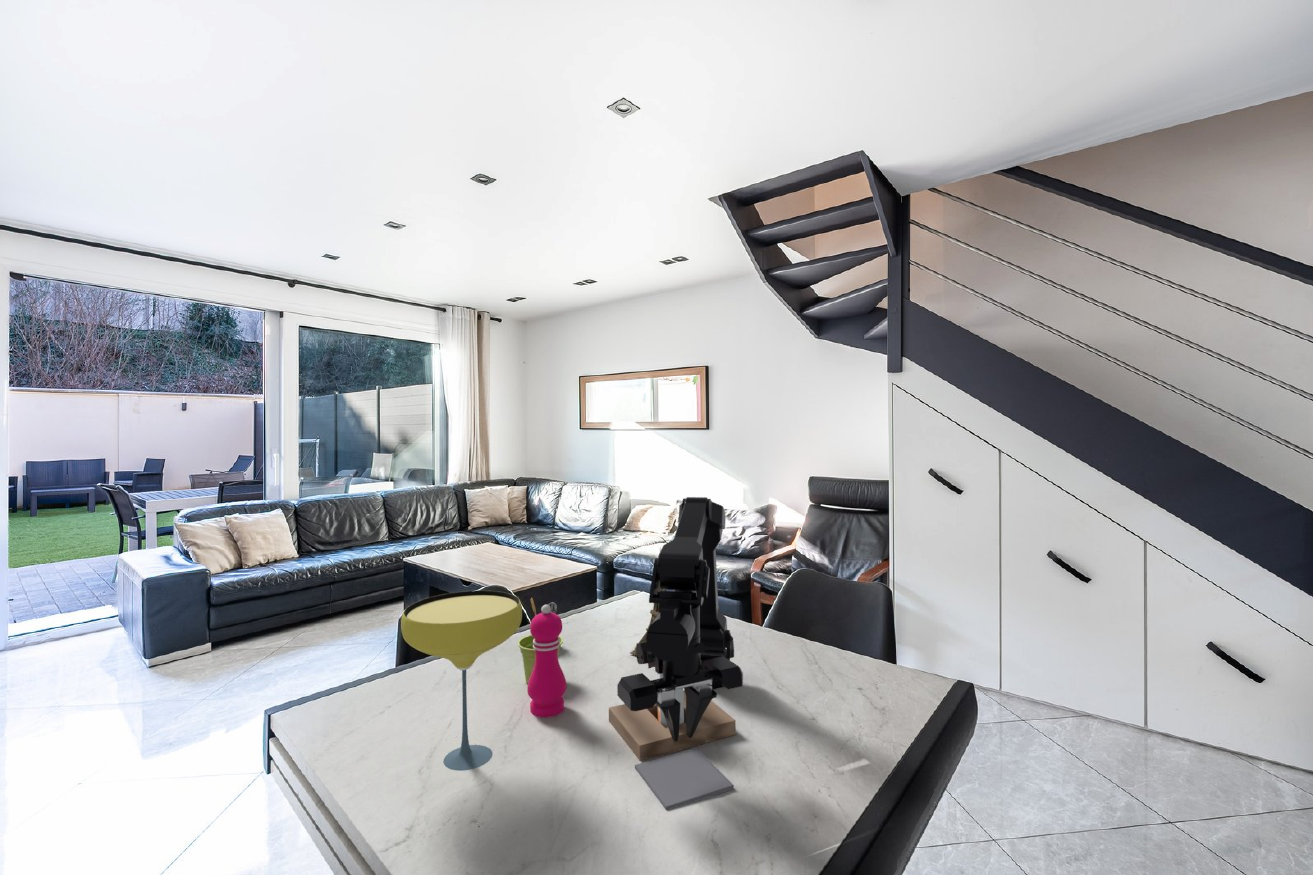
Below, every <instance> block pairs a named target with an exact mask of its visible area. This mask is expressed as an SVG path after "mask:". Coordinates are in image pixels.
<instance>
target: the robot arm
mask: <svg viewBox="0 0 1313 875" xmlns="http://www.w3.org/2000/svg"><path fill="white" fill-rule="evenodd" d="M677 524H678V525H677V527H676V530H675V533H674V537H673V538H672V539H673V540H671V541H669V542H667V543H665V544H664V545H662V548H660V550H659V553H658V556H657V557H656V558H655V559H654V561H653V567H652V568H653V569H652V575H651V583H650V590H649V597H648V603H649V604H654V603H659V613H658V616H657V617H656V618H655V620H654V621H653V623H652V624H651V626H650V627H649V629H648V632H647V631H646V632H647V635H646V640H647V642H642V643H639V642H638V643H636V645H635V647H636V655H635V656H636V661H637V664H638V665H647V669H652V668H654V671H655V673H656V674H657V673H658V674H662V678H660V679H657V678H656V679H651V680H650V678H649V677H647V676H646V675H645V674H644V673H643V672H640V673H636V674H632V675H631V674H630V675H626V676H622V677H621V678H620V680H619V682H618V683H617V697H618V698H619V699H620V700H621V701H622V702H623V704H625V705H626V706H627V707H628V708H629V709H630V710H631V711H640V710H644V709H648V708H652V707H653V706H654V705H655V704H656V705H657V706H658V707H659V708H660V709H661V710H662V712H663V714H664V717H665V720H666V722H667V725H668V728H669V731H670V734H671V737H672V739H673V740H674V741H675V742H677V741H678V737H679V725H680V702H678V701H677V700H676V699H675V690H676V689H681V688H683V691H684V690H685V694H686V734H687V736H688V737H689V738H692V736H693V734H694V732H695V730H696V728H697V726H698V724H699V722H700V719H701V718H702V715H703V714H704V712H705V710H706V708H707V707H708V705H709V703H710V702H711V701H713V699H716V698H717V696H718V693H717V692H716V691H715V690H717V689H721V688H725V689H727V690H732V689H736V688H741V687H743V685H744V672H743V670H742V668H741V667H740V666H739V665H737V664H736V663H735V662H733V661H731V659H732V658H735V644H734V637H733V636H732V633H731V630H730V629H728V622H727V621H728V620H727V617H726V616H725V615H724V614H723V612H722V611H721V609H720V607H719V595H718V590H719V589H718V575H717V574H718V573H717V572H718V571H717V552H716V551H717V547H718V545H719V544H720V542H721V540H722V535H723V532H724V530H726V510H725V508H724V506H723V505H721V504H720V503H719V504H718V503H717V502H715V501H714V502H713V501H712V500H711V498H708V497H705V496H704V497H702V496H700V497H699V496H698V497H696V496H691V497H690V496H687V497H685V498H682V501H681V503H680V504H679V506H678V523H677ZM659 582H660V588H661V589H663V590H666V591H658V587H659Z"/></svg>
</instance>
